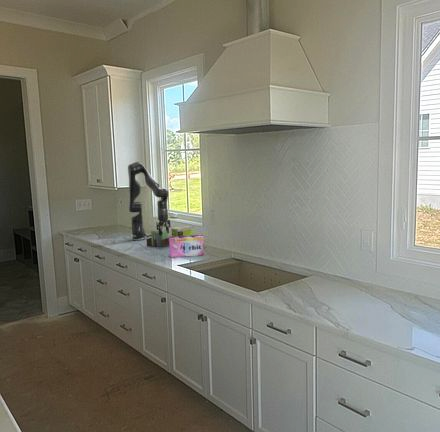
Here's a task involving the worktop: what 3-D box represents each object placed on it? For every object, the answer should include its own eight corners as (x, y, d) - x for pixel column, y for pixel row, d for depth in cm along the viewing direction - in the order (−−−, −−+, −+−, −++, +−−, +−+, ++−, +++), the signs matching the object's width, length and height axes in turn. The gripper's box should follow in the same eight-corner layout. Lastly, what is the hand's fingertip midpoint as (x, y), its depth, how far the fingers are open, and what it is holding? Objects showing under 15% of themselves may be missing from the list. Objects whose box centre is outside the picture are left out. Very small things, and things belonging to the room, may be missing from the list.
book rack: (155, 245, 332) (154, 236, 331) (170, 246, 327) (170, 237, 326) (146, 247, 323) (146, 238, 322) (162, 248, 318) (162, 239, 317)
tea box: (188, 243, 337) (187, 225, 335) (195, 244, 330) (194, 226, 328) (172, 246, 327) (171, 227, 325) (178, 247, 320) (177, 229, 318)
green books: (156, 244, 329) (155, 229, 327) (160, 244, 328) (159, 230, 326) (151, 246, 323) (150, 231, 322) (155, 246, 322) (154, 231, 320)
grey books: (161, 244, 328) (161, 231, 326) (166, 245, 326) (165, 231, 325) (156, 246, 322) (155, 232, 320) (160, 246, 320) (160, 232, 319)
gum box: (204, 252, 301) (203, 234, 299) (204, 255, 293) (203, 236, 291) (170, 255, 295) (169, 236, 294) (169, 257, 288) (168, 238, 286)
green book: (166, 245, 326) (165, 230, 324) (168, 245, 325) (167, 230, 324) (161, 246, 320) (160, 231, 319) (163, 246, 320) (162, 231, 318)
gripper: (161, 215, 311) (162, 236, 313) (172, 212, 324) (173, 232, 327) (152, 214, 314) (154, 235, 316) (164, 212, 327) (165, 232, 329)
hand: (164, 234), depth 321 cm, fingers open, 8 cm apart
